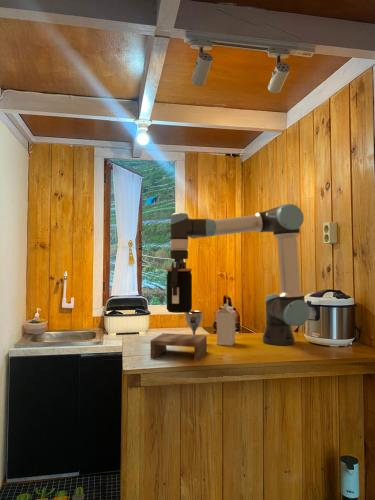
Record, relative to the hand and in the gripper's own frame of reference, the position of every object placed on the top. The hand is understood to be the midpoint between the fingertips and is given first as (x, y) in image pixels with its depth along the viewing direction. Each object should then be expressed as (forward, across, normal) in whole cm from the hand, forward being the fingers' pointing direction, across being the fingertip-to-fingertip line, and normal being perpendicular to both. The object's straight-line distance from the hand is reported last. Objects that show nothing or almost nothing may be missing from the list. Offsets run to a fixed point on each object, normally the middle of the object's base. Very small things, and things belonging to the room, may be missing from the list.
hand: (179, 302), depth 157 cm
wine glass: (+22, -22, +1) cm, 31 cm away
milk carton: (+22, -25, +16) cm, 37 cm away
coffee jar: (+4, 0, 0) cm, 4 cm away
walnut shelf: (+22, 0, 0) cm, 22 cm away
